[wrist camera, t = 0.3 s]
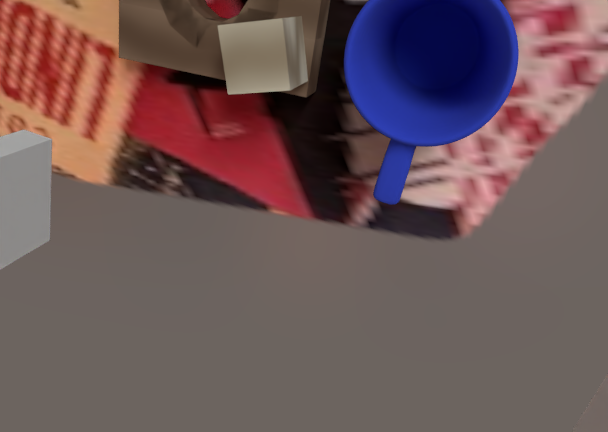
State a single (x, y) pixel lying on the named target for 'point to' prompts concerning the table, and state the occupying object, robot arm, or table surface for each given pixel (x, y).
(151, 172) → the table surface
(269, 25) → the maple cube
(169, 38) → the deck
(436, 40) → the mug
